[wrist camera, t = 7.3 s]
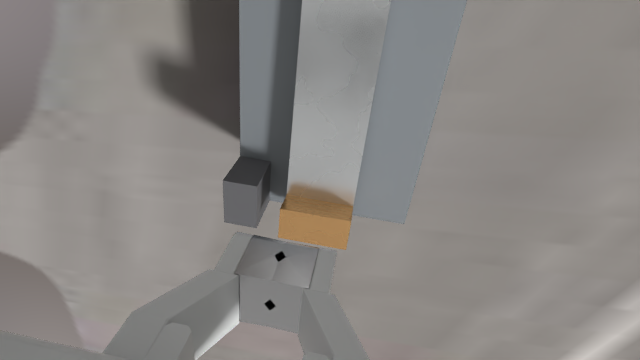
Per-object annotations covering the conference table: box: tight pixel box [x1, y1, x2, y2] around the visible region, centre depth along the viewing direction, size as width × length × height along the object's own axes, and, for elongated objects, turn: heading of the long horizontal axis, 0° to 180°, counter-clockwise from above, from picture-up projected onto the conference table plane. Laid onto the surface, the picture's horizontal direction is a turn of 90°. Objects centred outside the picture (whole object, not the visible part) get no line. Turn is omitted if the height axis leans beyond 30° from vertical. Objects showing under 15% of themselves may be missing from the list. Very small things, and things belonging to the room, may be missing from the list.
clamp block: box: [223, 0, 467, 228], centre depth 21 cm, size 11×20×9 cm, turn 174°
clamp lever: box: [278, 0, 391, 250], centre depth 19 cm, size 4×17×3 cm, turn 174°
